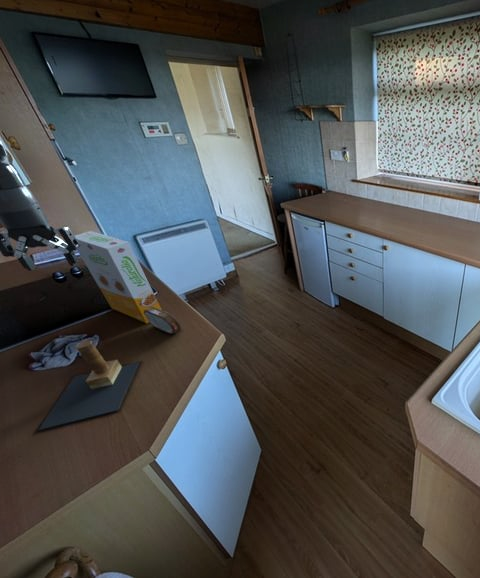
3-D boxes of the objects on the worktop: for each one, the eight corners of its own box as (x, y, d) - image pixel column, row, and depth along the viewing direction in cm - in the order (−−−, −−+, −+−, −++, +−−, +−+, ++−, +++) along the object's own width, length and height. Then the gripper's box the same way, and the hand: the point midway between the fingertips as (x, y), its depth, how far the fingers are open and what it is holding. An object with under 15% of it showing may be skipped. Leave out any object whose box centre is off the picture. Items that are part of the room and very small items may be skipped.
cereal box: (163, 314, 113) (128, 241, 97) (146, 323, 108) (107, 248, 92) (128, 300, 120) (91, 230, 105) (111, 308, 116) (69, 236, 100)
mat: (39, 430, 72) (38, 429, 72) (74, 377, 86) (74, 376, 86) (118, 411, 77) (117, 410, 77) (139, 363, 91) (138, 362, 91)
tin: (184, 332, 104) (175, 313, 99) (175, 338, 101) (166, 319, 97) (157, 321, 109) (148, 302, 104) (148, 326, 106) (138, 307, 102)
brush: (91, 389, 82) (64, 355, 75) (102, 371, 88) (78, 337, 81) (112, 384, 84) (88, 350, 77) (122, 367, 89) (100, 334, 82)
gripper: (-38, 213, 64) (9, 277, 73) (46, 208, 69) (81, 269, 78) (-14, 204, 70) (27, 264, 79) (62, 200, 75) (93, 257, 84)
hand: (54, 266), depth 78 cm, fingers open, 8 cm apart
